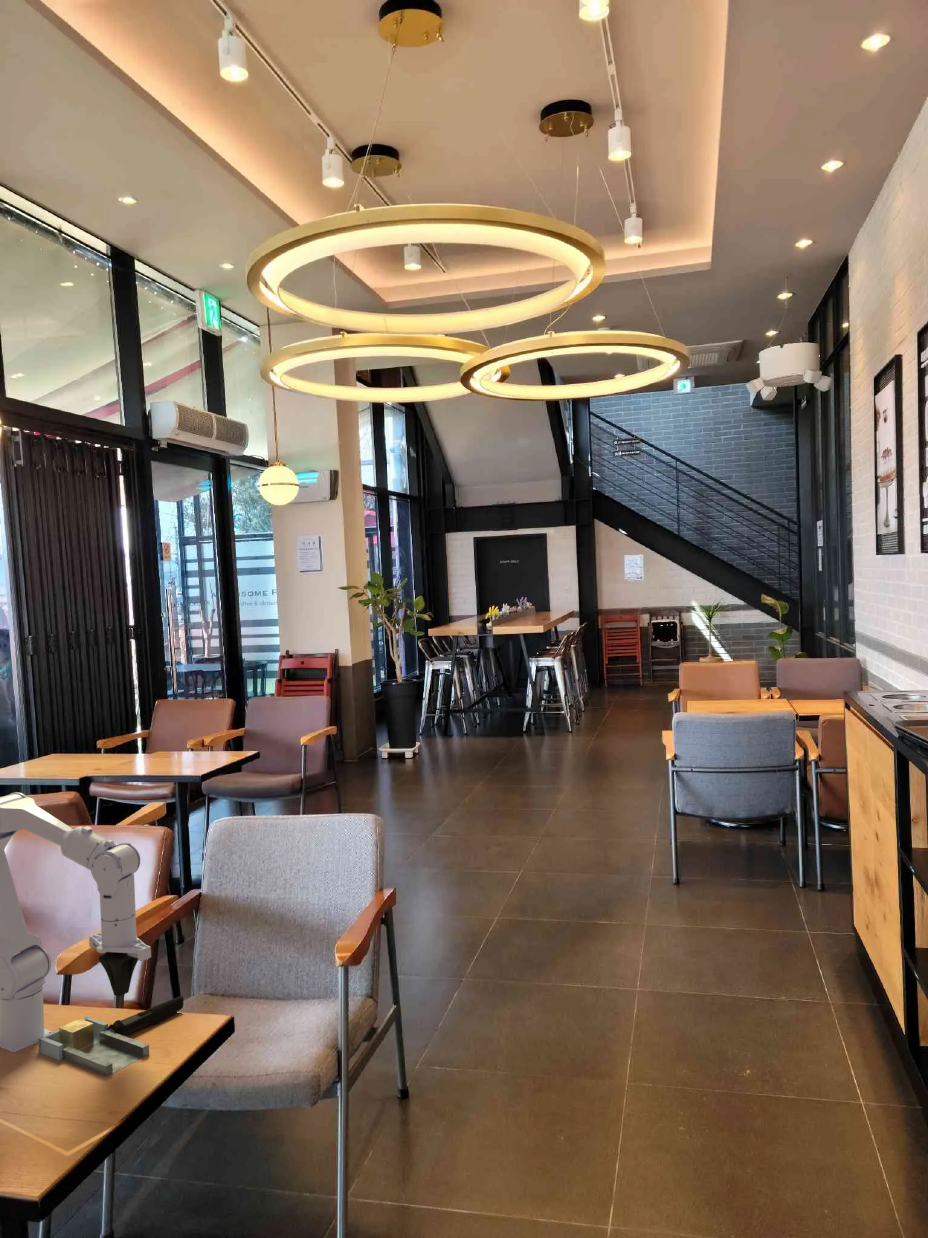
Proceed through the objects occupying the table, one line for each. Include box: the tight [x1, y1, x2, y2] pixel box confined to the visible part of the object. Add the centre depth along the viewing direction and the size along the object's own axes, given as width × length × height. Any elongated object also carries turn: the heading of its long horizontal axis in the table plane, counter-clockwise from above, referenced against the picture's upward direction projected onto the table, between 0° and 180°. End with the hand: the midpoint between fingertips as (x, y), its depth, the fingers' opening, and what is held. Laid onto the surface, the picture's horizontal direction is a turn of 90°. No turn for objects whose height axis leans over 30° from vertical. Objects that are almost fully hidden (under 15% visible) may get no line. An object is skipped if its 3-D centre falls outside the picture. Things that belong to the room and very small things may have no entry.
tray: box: [37, 1016, 109, 1061], centre depth 158 cm, size 6×10×3 cm, turn 147°
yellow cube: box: [58, 1018, 94, 1050], centre depth 158 cm, size 4×4×4 cm
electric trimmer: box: [107, 995, 184, 1037], centre depth 165 cm, size 4×16×3 cm, turn 143°
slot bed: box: [62, 1029, 150, 1077], centre depth 153 cm, size 12×8×2 cm
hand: (121, 993), depth 156 cm, fingers closed
